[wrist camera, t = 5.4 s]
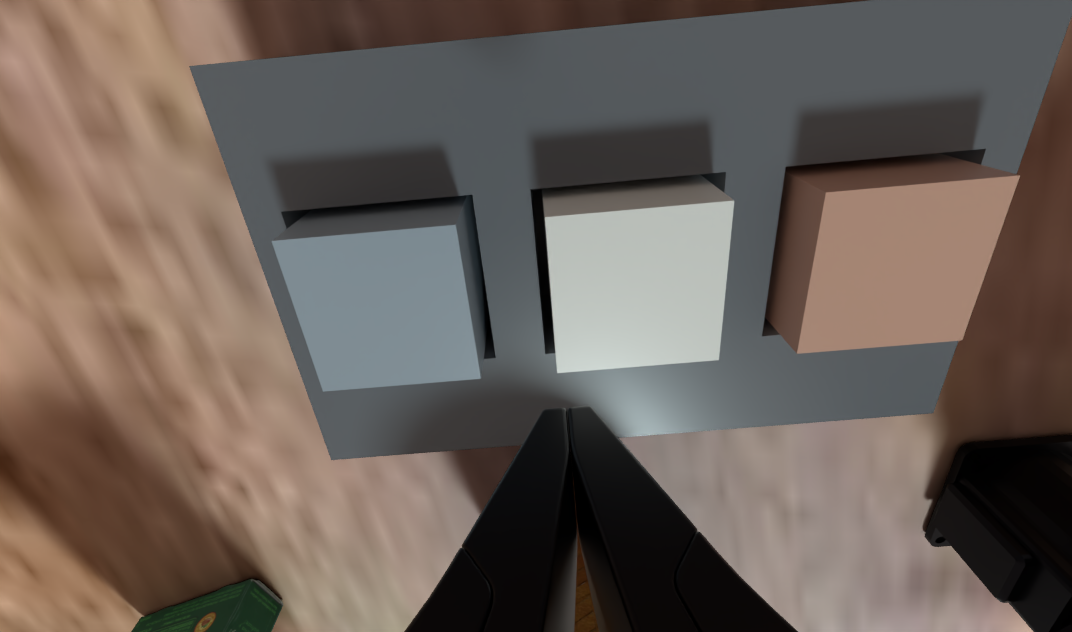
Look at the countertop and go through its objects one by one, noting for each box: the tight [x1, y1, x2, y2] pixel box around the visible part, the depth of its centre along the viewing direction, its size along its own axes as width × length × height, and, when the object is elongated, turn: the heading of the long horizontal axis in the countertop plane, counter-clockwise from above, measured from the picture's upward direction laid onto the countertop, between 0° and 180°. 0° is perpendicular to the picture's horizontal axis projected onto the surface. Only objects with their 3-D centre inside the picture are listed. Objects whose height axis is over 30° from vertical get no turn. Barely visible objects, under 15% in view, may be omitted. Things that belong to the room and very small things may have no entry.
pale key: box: [541, 174, 734, 373], centre depth 15 cm, size 4×4×4 cm
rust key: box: [765, 153, 1020, 354], centre depth 15 cm, size 4×4×4 cm
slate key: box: [272, 195, 489, 392], centre depth 15 cm, size 4×4×4 cm
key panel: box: [189, 0, 1072, 460], centre depth 16 cm, size 20×12×4 cm, turn 95°
